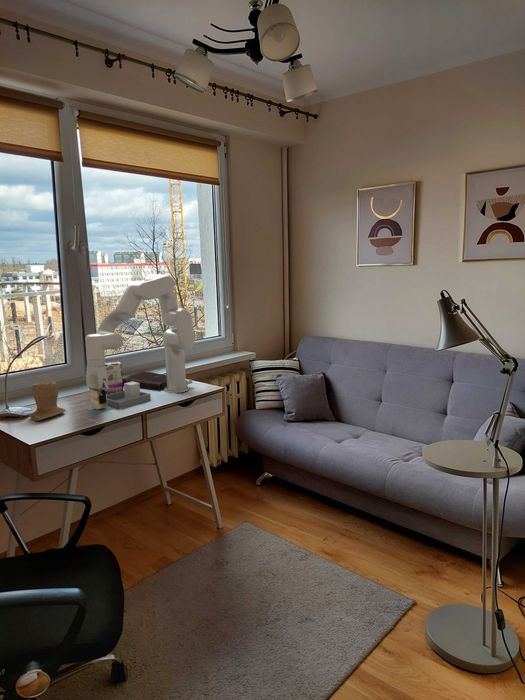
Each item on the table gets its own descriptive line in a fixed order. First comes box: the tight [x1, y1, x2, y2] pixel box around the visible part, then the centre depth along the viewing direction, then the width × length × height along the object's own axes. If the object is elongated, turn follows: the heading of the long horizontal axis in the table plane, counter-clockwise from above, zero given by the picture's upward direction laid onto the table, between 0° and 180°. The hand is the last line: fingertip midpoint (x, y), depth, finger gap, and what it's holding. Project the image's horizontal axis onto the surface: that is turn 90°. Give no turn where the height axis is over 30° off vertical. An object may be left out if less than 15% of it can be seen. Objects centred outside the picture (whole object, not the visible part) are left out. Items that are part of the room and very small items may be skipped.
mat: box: [84, 406, 114, 415], centre depth 221 cm, size 8×10×1 cm
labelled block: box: [89, 389, 109, 409], centre depth 220 cm, size 5×5×8 cm
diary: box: [122, 370, 167, 392], centre depth 263 cm, size 19×25×5 cm
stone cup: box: [28, 381, 67, 422], centre depth 212 cm, size 15×12×15 cm
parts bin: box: [107, 390, 152, 410], centre depth 232 cm, size 18×15×4 cm
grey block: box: [123, 381, 141, 400], centre depth 234 cm, size 5×5×8 cm
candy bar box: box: [102, 361, 124, 395], centre depth 242 cm, size 11×5×16 cm, turn 112°
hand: (99, 402), depth 221 cm, fingers closed on labelled block, 5 cm apart
